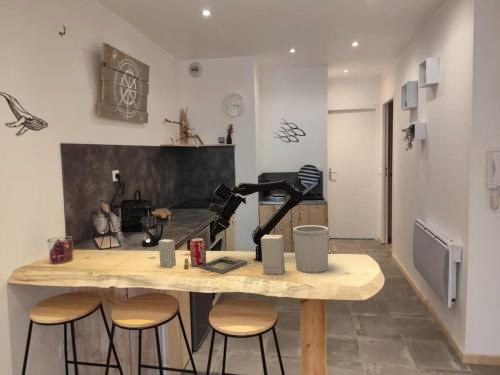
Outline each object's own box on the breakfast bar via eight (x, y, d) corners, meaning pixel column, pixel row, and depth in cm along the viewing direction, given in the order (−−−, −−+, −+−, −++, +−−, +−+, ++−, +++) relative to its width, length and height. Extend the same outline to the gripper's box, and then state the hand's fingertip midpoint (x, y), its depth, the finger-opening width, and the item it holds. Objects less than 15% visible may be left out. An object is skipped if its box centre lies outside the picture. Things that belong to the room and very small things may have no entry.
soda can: (207, 262, 171) (206, 237, 170) (204, 267, 164) (203, 241, 163) (193, 262, 172) (191, 237, 171) (189, 267, 165) (187, 241, 164)
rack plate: (247, 264, 166) (247, 260, 166) (222, 274, 154) (222, 270, 154) (225, 259, 175) (225, 255, 175) (200, 268, 163) (200, 264, 163)
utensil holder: (288, 265, 162) (287, 226, 160) (317, 260, 167) (316, 223, 165) (305, 275, 148) (304, 233, 146) (336, 269, 154) (335, 229, 152)
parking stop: (185, 262, 172) (184, 258, 172) (188, 262, 172) (188, 258, 172) (184, 269, 162) (184, 264, 162) (187, 269, 162) (187, 264, 162)
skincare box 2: (285, 270, 155) (284, 234, 154) (281, 275, 149) (280, 238, 148) (266, 269, 158) (265, 234, 157) (261, 274, 152) (260, 237, 150)
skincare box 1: (176, 265, 169) (174, 239, 168) (170, 267, 165) (169, 241, 164) (165, 263, 172) (164, 238, 170) (159, 266, 168) (158, 241, 167)
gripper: (216, 194, 176) (198, 220, 176) (217, 198, 158) (197, 228, 158) (235, 207, 178) (217, 233, 178) (238, 213, 159) (218, 242, 160)
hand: (212, 233), depth 168 cm, fingers open, 9 cm apart
